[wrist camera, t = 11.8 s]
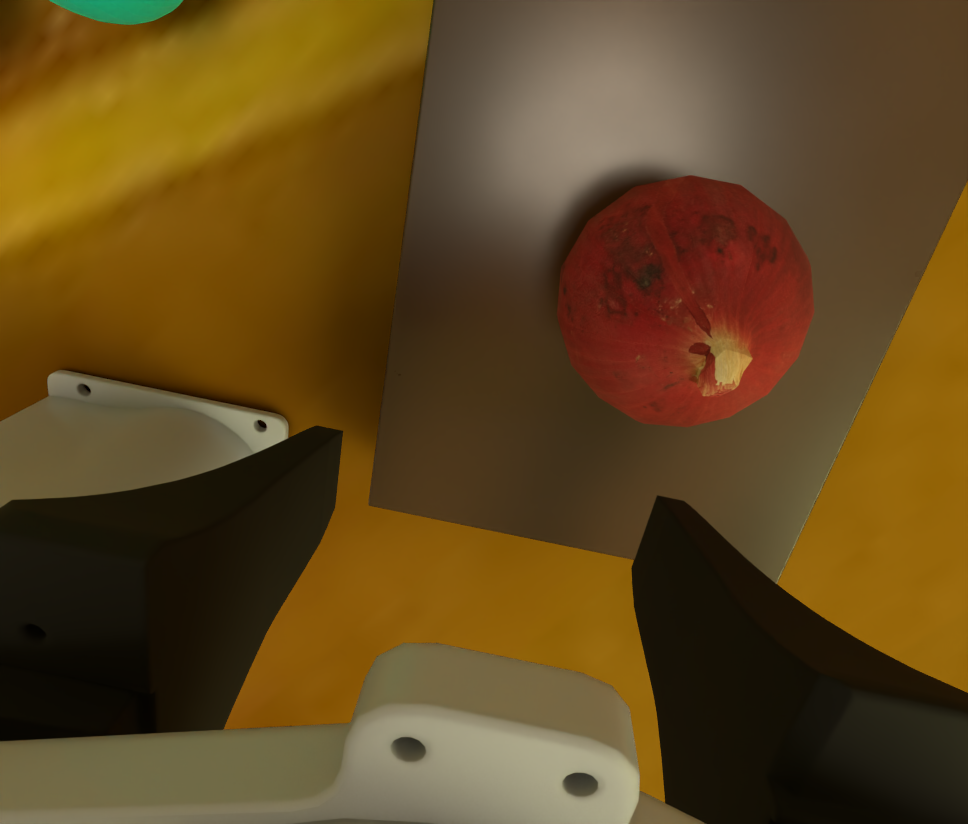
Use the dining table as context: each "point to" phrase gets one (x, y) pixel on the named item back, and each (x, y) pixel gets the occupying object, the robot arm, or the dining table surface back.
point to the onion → (685, 301)
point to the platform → (606, 177)
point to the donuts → (120, 9)
